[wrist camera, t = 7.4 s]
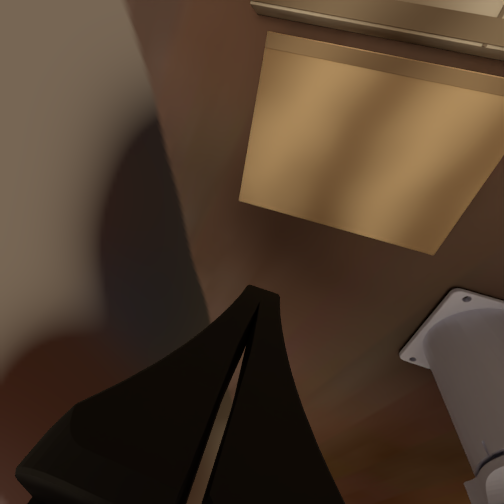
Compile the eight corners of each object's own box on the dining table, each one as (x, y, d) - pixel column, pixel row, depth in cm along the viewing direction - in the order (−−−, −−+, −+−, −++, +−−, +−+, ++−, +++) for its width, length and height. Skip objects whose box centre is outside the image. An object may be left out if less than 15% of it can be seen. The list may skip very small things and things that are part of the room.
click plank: (531, 89, 12) (552, 86, 11) (426, 246, 17) (434, 255, 15) (272, 37, 13) (267, 30, 12) (243, 195, 18) (238, 201, 17)
